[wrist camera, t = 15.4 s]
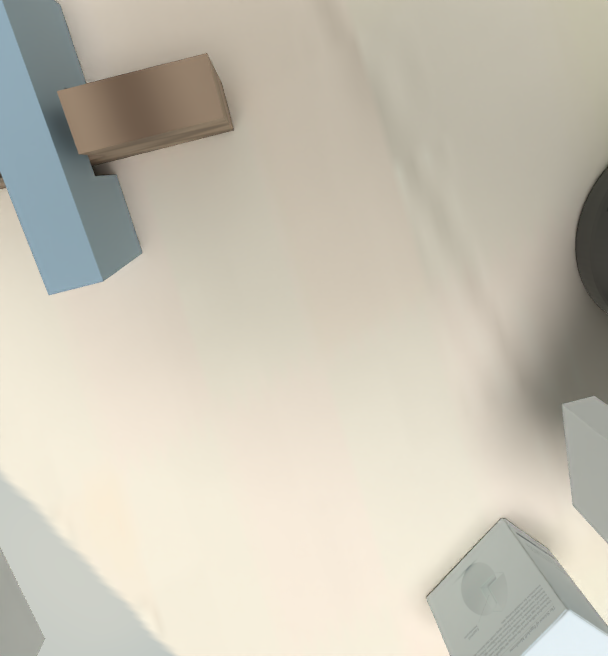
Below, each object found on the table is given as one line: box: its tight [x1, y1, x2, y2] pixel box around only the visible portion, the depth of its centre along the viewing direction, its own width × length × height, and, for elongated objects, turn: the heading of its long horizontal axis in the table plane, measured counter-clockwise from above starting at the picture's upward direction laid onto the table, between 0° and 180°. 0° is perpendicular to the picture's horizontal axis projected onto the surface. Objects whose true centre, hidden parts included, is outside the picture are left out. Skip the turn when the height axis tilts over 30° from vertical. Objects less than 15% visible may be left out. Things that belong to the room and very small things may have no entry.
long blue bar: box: [0, 0, 142, 295], centre depth 32 cm, size 3×16×10 cm, turn 14°
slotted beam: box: [0, 53, 234, 189], centre depth 32 cm, size 20×3×10 cm, turn 104°
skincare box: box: [426, 518, 608, 656], centre depth 44 cm, size 10×6×10 cm, turn 142°
